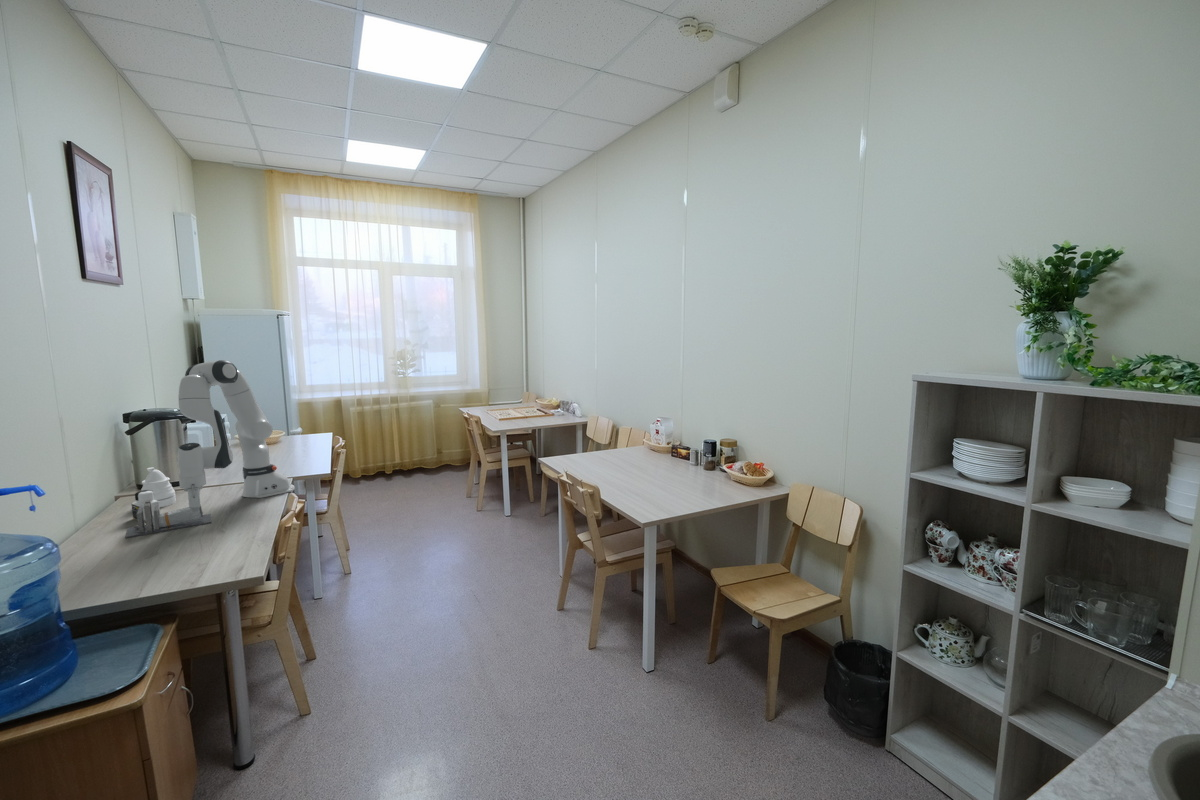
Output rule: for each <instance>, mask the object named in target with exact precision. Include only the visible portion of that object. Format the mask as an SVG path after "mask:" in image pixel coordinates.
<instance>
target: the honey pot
mask: <svg viewBox="0 0 1200 800" xmlns="http://www.w3.org/2000/svg"><path fill="white" fill-rule="evenodd" d="M146 470H147V472H149V473H148V474H147V475H146V478H145V479H144V480H142V481H141V484H142V488H141V489H140V491H143V490H152V491H153V493H154V500H157V501H159V507H160V508H164V507H168V506H171V505H173V504H175V503H176V502H177V499H176V498H177V496H176V491H175V489H174V487H173V486H172V483H170V480H171V478H170V477H168V476H166V475H165V474H164V473H163V472H162V471H160V470H159V469H155V467H154V466H153V467H152V466H151V467H148V468H147V467H146Z"/></svg>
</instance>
